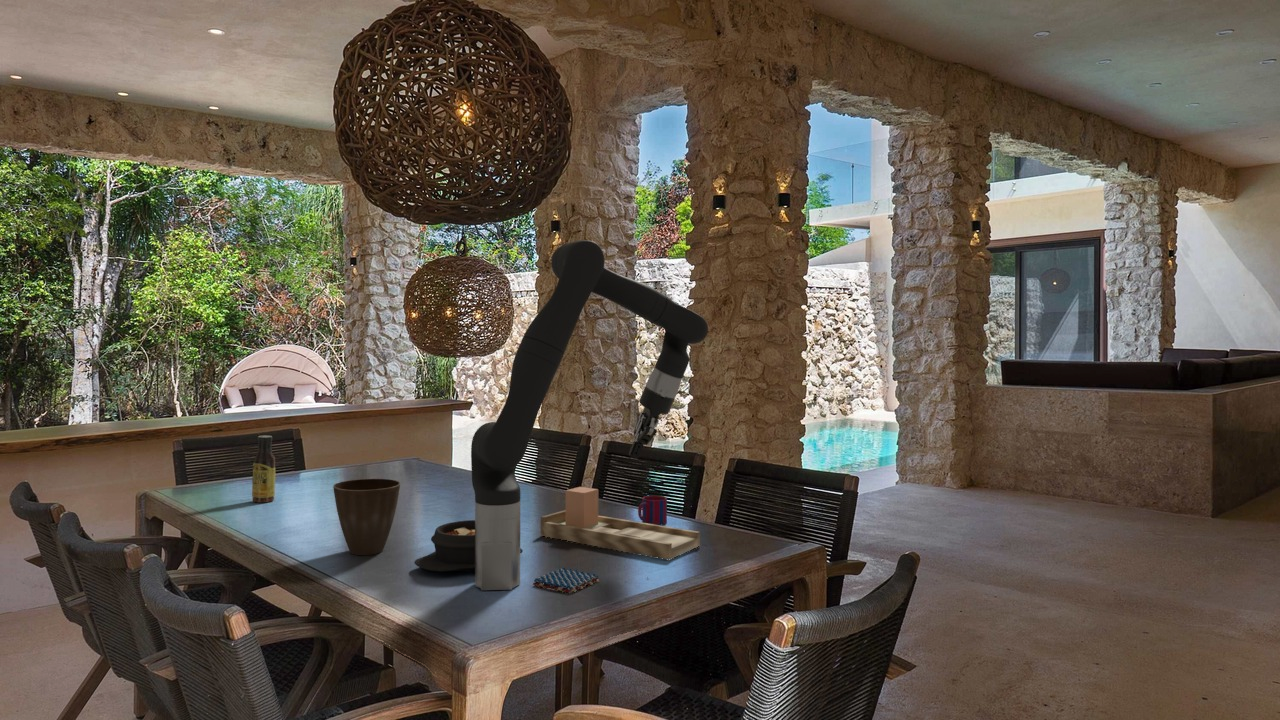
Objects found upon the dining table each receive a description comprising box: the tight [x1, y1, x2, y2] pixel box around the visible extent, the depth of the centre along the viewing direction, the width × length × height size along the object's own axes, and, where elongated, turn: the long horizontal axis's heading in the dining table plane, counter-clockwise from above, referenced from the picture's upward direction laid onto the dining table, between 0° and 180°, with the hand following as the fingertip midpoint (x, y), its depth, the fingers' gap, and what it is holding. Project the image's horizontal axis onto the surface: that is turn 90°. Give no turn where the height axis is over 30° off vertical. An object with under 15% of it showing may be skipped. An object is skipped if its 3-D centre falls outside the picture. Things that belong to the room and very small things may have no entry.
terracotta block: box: [564, 486, 599, 528], centre depth 211 cm, size 6×6×9 cm
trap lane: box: [540, 509, 701, 561], centre depth 204 cm, size 38×14×5 cm, turn 56°
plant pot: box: [332, 478, 401, 556], centre depth 193 cm, size 15×15×16 cm
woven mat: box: [532, 567, 600, 594], centre depth 170 cm, size 10×11×2 cm
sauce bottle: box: [251, 435, 276, 504], centre depth 248 cm, size 7×6×20 cm
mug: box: [637, 495, 668, 526], centre depth 223 cm, size 7×10×7 cm
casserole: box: [414, 519, 524, 573], centre depth 183 cm, size 25×19×8 cm
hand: (633, 456), depth 195 cm, fingers closed
